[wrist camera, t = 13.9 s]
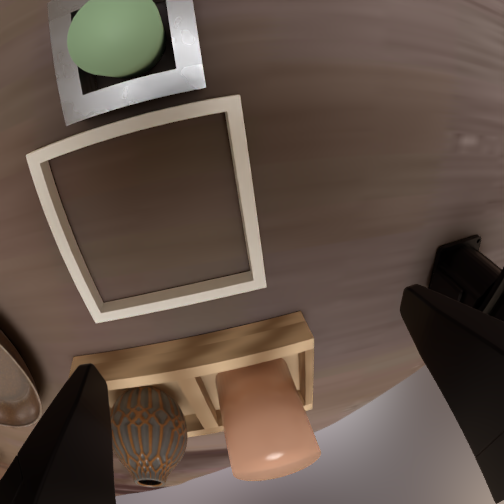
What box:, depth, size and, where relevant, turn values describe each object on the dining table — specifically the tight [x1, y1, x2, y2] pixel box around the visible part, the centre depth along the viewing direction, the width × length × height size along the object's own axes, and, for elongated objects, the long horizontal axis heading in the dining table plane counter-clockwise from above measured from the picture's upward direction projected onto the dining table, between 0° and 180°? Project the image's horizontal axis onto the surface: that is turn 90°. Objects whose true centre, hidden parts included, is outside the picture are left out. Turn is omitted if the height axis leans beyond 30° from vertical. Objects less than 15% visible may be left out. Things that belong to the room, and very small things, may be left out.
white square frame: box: [26, 94, 267, 323], centre depth 18 cm, size 13×13×1 cm
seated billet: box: [215, 358, 321, 481], centre depth 23 cm, size 7×7×9 cm
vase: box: [110, 386, 188, 487], centre depth 22 cm, size 7×7×9 cm
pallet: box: [69, 311, 314, 437], centre depth 25 cm, size 20×11×3 cm, turn 97°
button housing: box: [47, 0, 206, 126], centre depth 12 cm, size 7×7×3 cm
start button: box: [67, 0, 166, 78], centre depth 11 cm, size 4×4×4 cm
